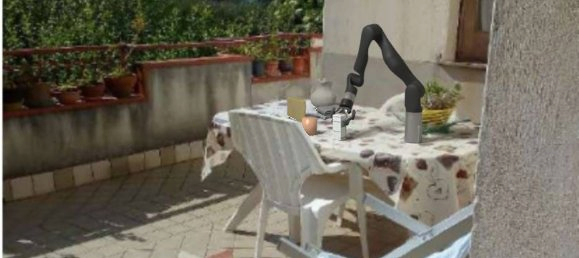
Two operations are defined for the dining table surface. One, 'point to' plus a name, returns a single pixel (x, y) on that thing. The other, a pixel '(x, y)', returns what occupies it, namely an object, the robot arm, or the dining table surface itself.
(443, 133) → the dining table surface
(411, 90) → the robot arm
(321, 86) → the ceramic pitcher
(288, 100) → the cheese
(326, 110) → the towel
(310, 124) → the peach rounded cylinder
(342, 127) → the syrup box
